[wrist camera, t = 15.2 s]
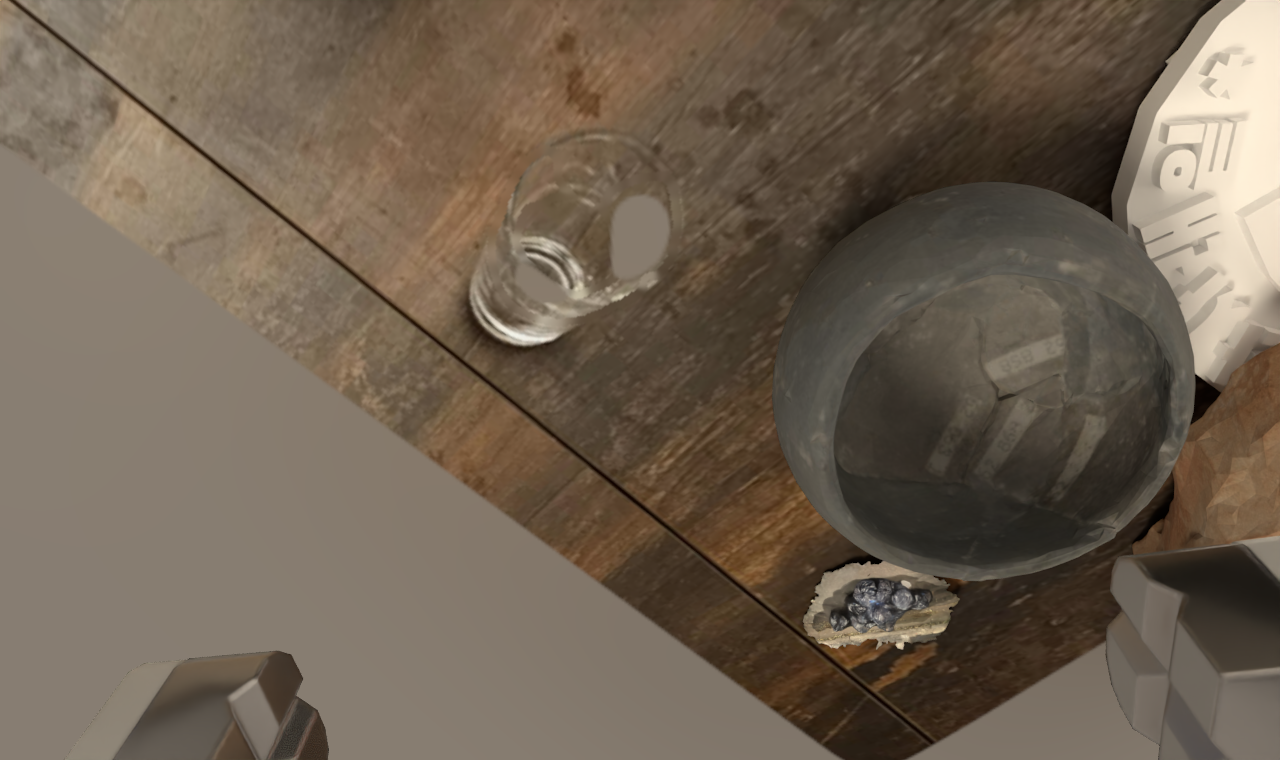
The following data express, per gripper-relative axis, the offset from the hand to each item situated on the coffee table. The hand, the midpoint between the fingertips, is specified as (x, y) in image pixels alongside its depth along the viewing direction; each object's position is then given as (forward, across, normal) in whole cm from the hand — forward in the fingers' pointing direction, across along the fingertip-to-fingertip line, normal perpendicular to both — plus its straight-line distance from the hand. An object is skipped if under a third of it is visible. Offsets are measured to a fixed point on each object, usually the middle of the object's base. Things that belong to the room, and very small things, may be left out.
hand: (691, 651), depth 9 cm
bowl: (+30, -10, +11) cm, 33 cm away
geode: (+30, -7, +27) cm, 41 cm away
